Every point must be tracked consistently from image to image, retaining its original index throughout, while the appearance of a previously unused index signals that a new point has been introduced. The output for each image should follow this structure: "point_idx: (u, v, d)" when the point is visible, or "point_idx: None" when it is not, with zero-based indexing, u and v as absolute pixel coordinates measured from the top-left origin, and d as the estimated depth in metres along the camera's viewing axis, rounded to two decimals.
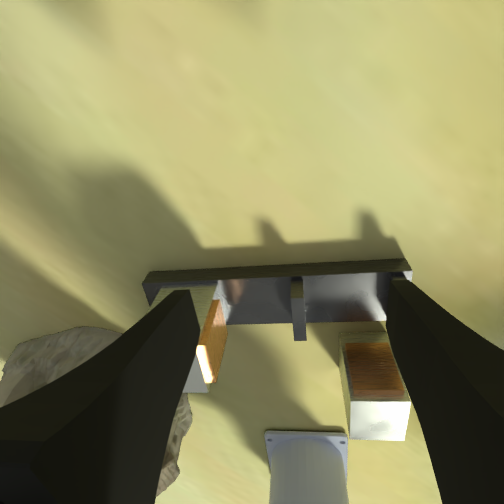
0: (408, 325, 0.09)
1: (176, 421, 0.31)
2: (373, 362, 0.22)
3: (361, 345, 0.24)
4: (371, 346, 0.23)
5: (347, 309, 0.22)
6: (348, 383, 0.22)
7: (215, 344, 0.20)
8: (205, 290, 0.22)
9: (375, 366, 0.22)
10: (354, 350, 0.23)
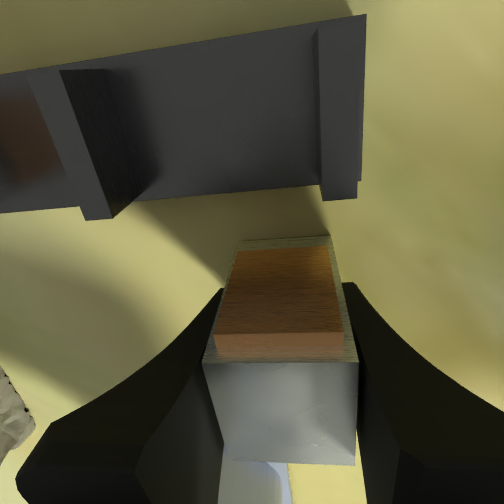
0: None
1: None
2: (283, 278, 0.09)
3: (268, 252, 0.11)
4: (288, 253, 0.11)
5: (225, 157, 0.10)
6: (215, 324, 0.09)
7: None
8: None
9: (285, 285, 0.09)
10: (251, 261, 0.10)
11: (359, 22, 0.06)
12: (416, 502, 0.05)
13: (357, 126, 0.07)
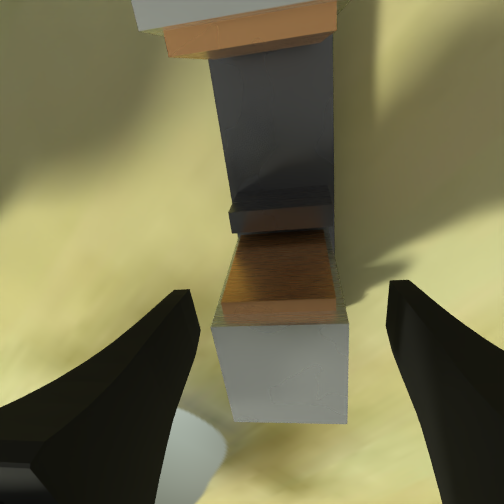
0: (408, 325, 0.09)
1: None
2: (283, 256, 0.10)
3: (269, 235, 0.12)
4: (288, 236, 0.12)
5: None
6: (222, 296, 0.10)
7: (265, 46, 0.07)
8: None
9: (285, 262, 0.10)
10: (253, 243, 0.11)
11: None
12: None
13: None
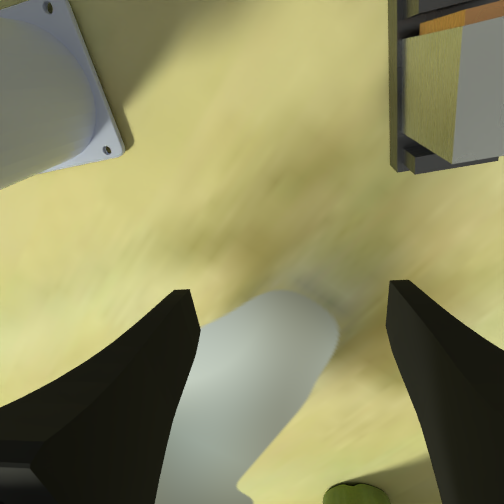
0: (408, 325, 0.09)
1: None
2: None
3: None
4: None
5: None
6: (445, 31, 0.11)
7: None
8: None
9: None
10: None
11: (497, 159, 0.15)
12: None
13: (452, 167, 0.15)
